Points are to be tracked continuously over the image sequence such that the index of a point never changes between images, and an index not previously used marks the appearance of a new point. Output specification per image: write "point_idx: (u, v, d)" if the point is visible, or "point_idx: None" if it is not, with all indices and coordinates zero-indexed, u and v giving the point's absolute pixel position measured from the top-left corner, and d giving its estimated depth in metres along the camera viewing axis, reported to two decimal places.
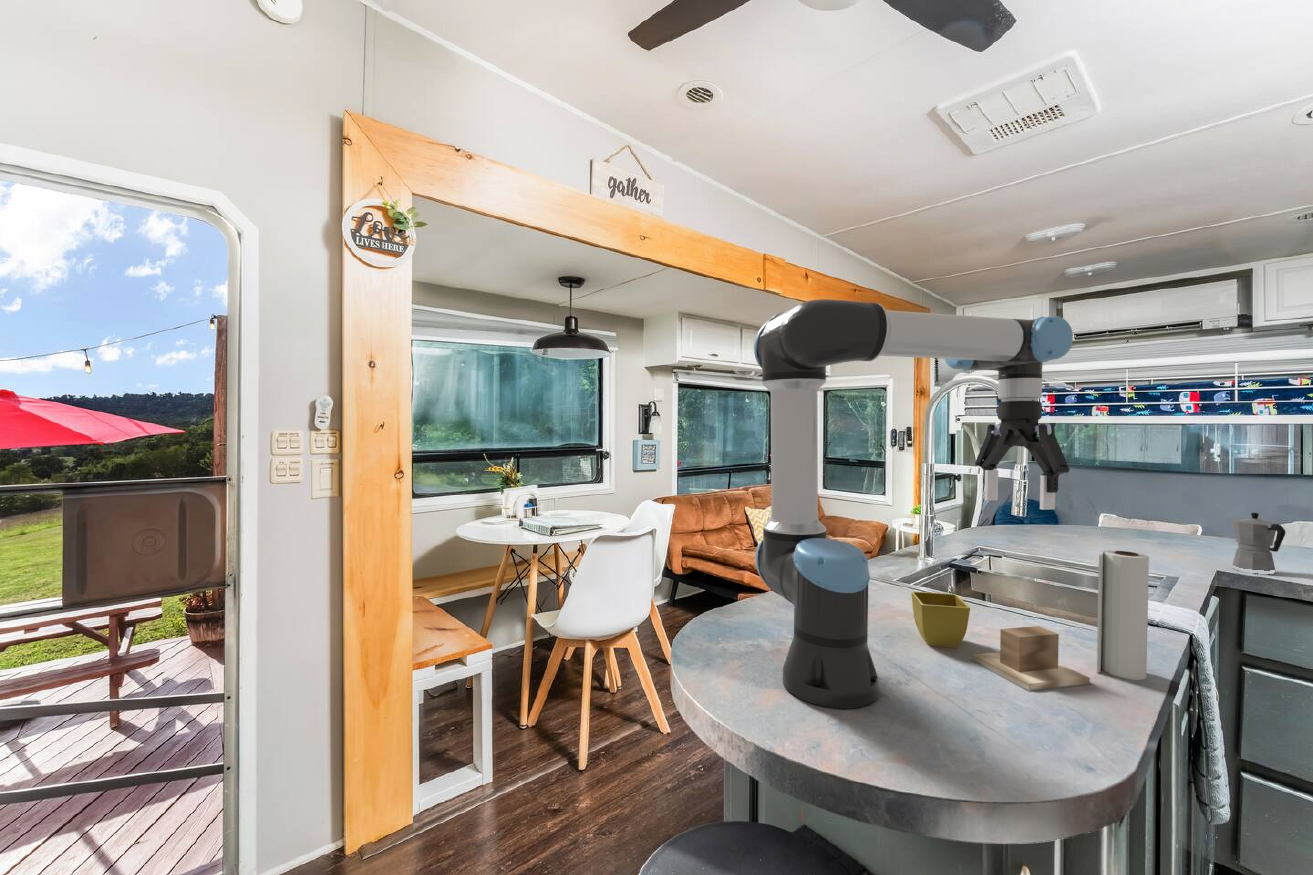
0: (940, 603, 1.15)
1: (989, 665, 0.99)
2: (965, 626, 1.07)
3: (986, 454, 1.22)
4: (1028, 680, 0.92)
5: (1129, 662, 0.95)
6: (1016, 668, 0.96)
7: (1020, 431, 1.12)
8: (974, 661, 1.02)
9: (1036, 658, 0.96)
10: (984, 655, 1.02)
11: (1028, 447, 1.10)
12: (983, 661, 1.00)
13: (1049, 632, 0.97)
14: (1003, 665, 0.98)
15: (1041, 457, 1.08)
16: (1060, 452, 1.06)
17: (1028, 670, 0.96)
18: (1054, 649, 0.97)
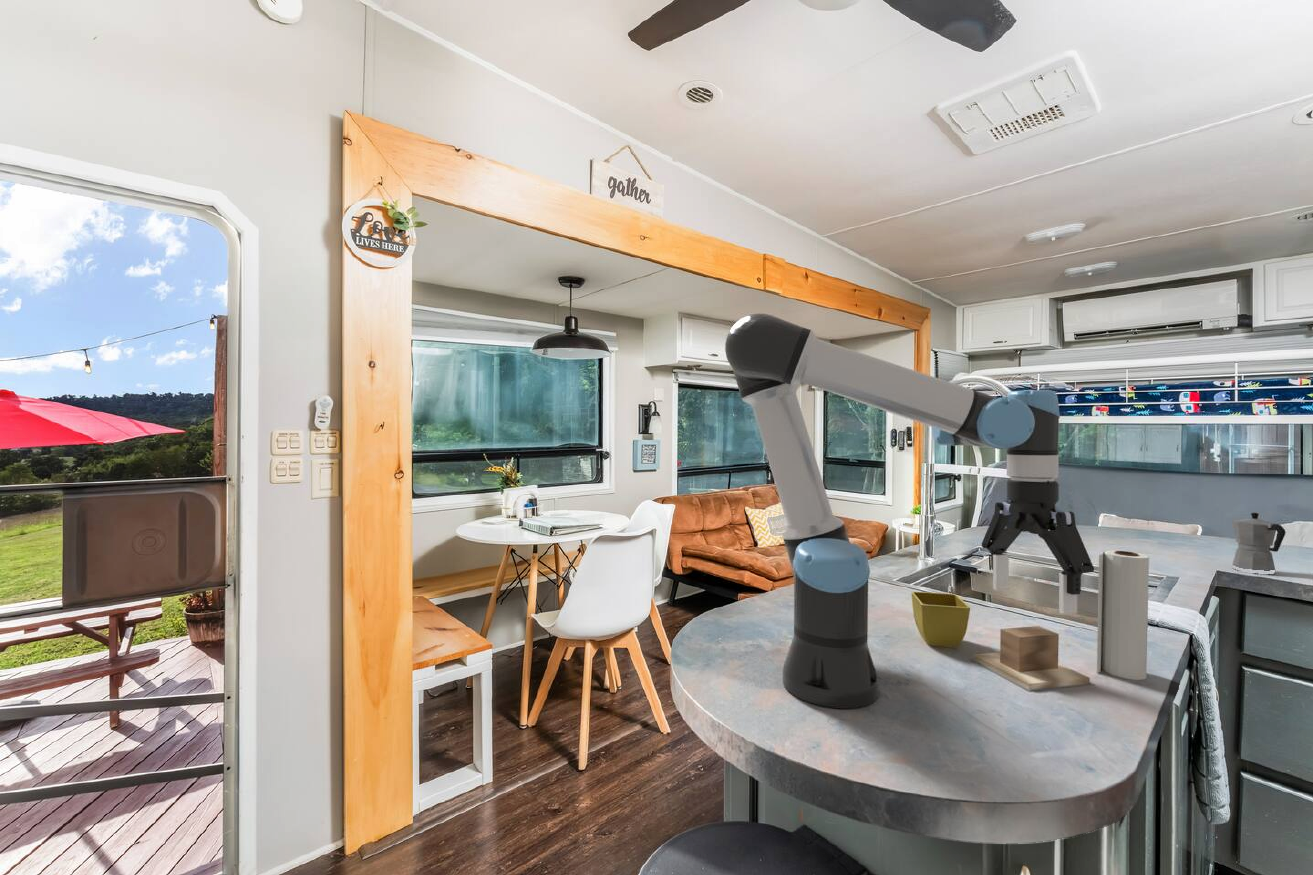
0: (940, 603, 1.15)
1: (989, 665, 0.99)
2: (965, 626, 1.07)
3: (994, 535, 1.05)
4: (1028, 680, 0.92)
5: (1129, 662, 0.95)
6: (1016, 668, 0.96)
7: (1034, 517, 0.95)
8: (974, 661, 1.02)
9: (1036, 658, 0.96)
10: (984, 655, 1.02)
11: (1044, 537, 0.94)
12: (983, 661, 1.00)
13: (1049, 632, 0.97)
14: (1003, 665, 0.98)
15: (1060, 551, 0.91)
16: (1082, 547, 0.89)
17: (1028, 670, 0.96)
18: (1054, 649, 0.97)
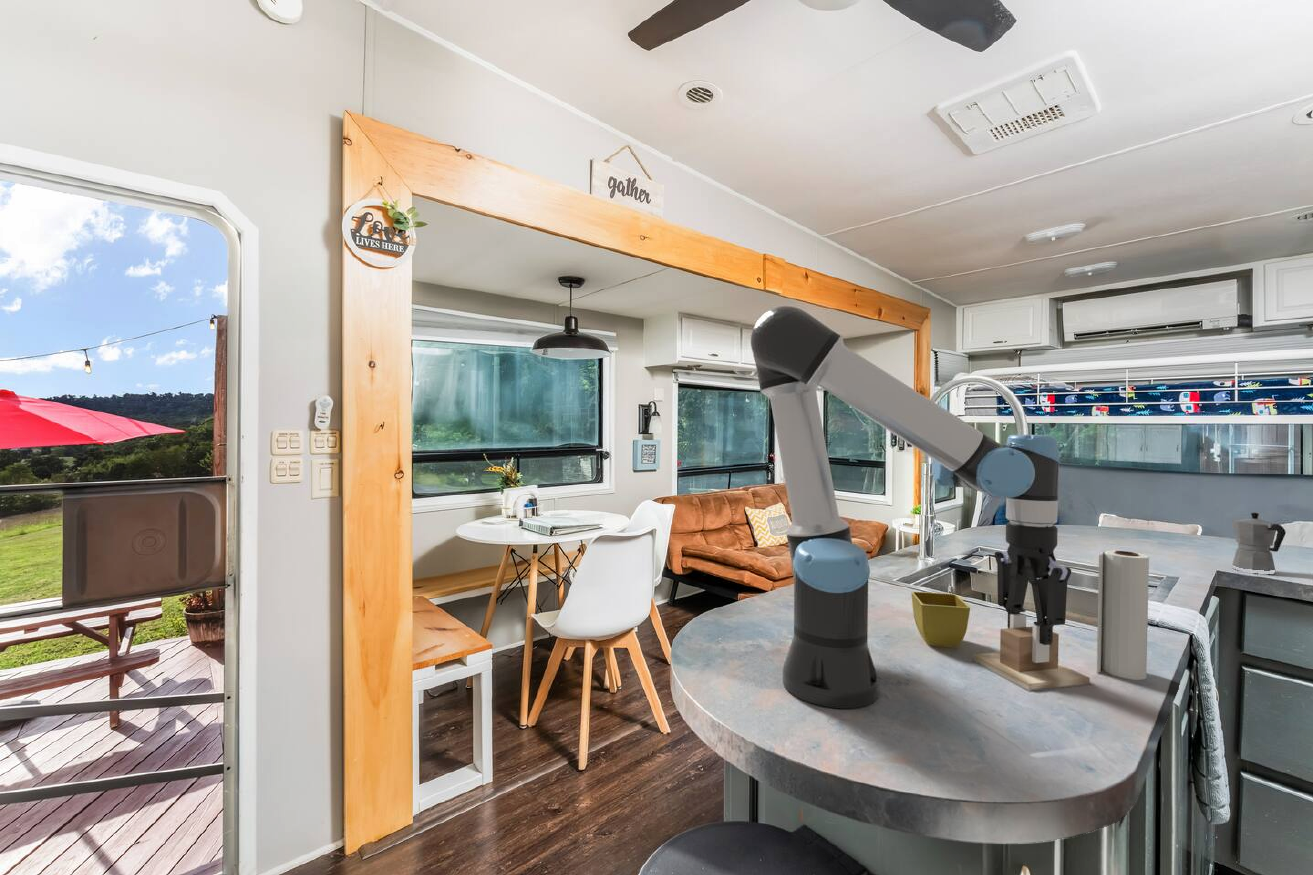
0: (940, 603, 1.15)
1: (989, 665, 0.99)
2: (965, 626, 1.07)
3: (1006, 589, 1.02)
4: (1028, 680, 0.92)
5: (1129, 662, 0.95)
6: (1016, 668, 0.96)
7: (1032, 563, 0.95)
8: (974, 661, 1.02)
9: None
10: (984, 655, 1.02)
11: (1033, 584, 0.96)
12: (983, 661, 1.00)
13: None
14: (1002, 665, 0.98)
15: (1041, 603, 0.94)
16: (1064, 602, 0.92)
17: (1028, 670, 0.96)
18: (1054, 649, 0.97)
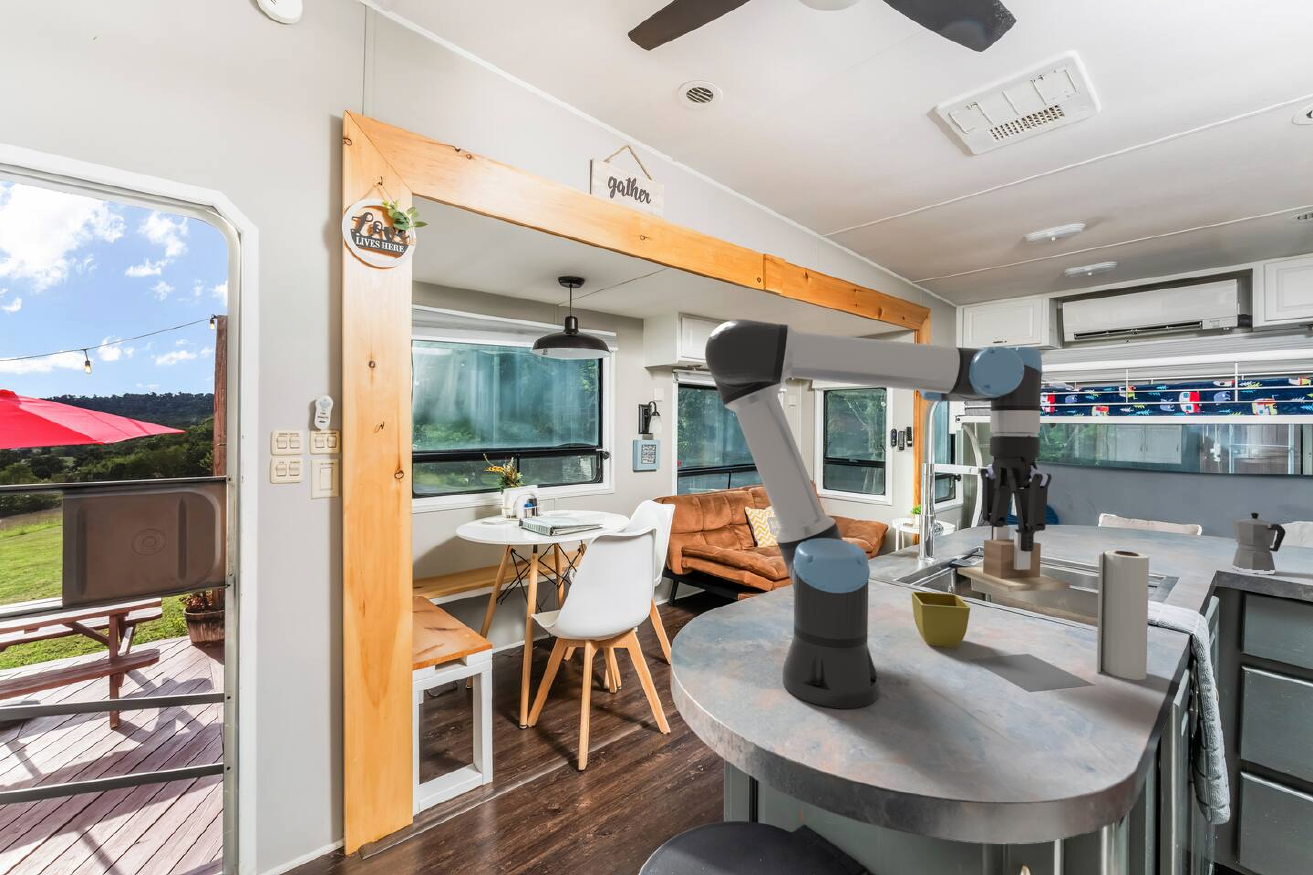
0: (940, 603, 1.15)
1: (972, 575, 1.01)
2: (965, 626, 1.07)
3: (990, 504, 1.04)
4: (1008, 583, 0.94)
5: (1129, 662, 0.95)
6: (998, 575, 0.98)
7: (1014, 473, 0.98)
8: (974, 661, 1.02)
9: None
10: (968, 568, 1.04)
11: (1015, 493, 0.98)
12: (967, 572, 1.03)
13: None
14: (985, 574, 1.00)
15: (1023, 510, 0.97)
16: (1044, 508, 0.94)
17: (1009, 578, 0.98)
18: (1036, 558, 0.99)
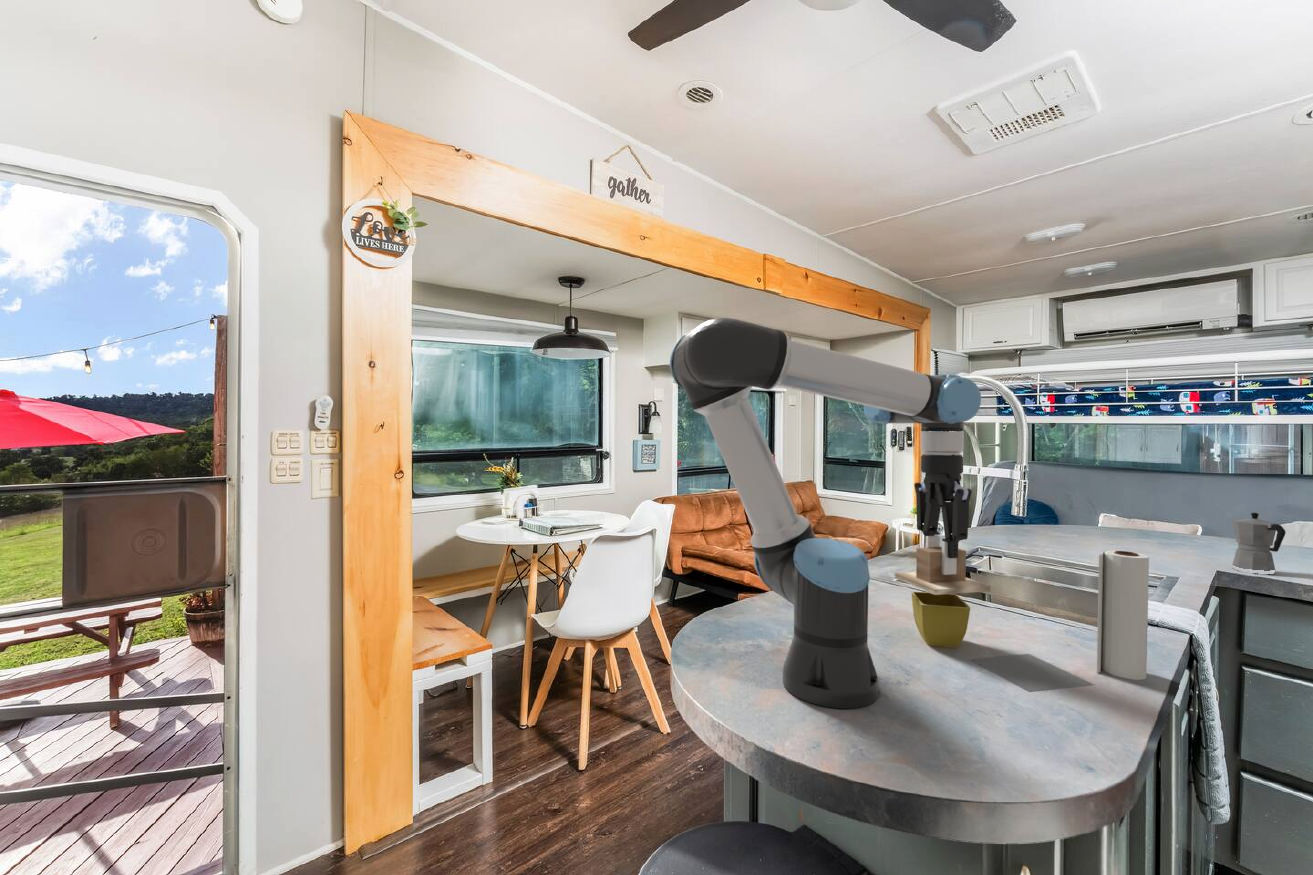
0: (940, 603, 1.15)
1: (906, 579, 1.12)
2: (965, 626, 1.07)
3: (923, 515, 1.15)
4: (935, 587, 1.05)
5: (1129, 662, 0.95)
6: (928, 580, 1.09)
7: (941, 488, 1.09)
8: (974, 661, 1.02)
9: None
10: (904, 573, 1.15)
11: (942, 506, 1.09)
12: (902, 577, 1.14)
13: (958, 549, 1.11)
14: (917, 579, 1.11)
15: (948, 521, 1.08)
16: (966, 520, 1.06)
17: (938, 582, 1.09)
18: (961, 564, 1.10)
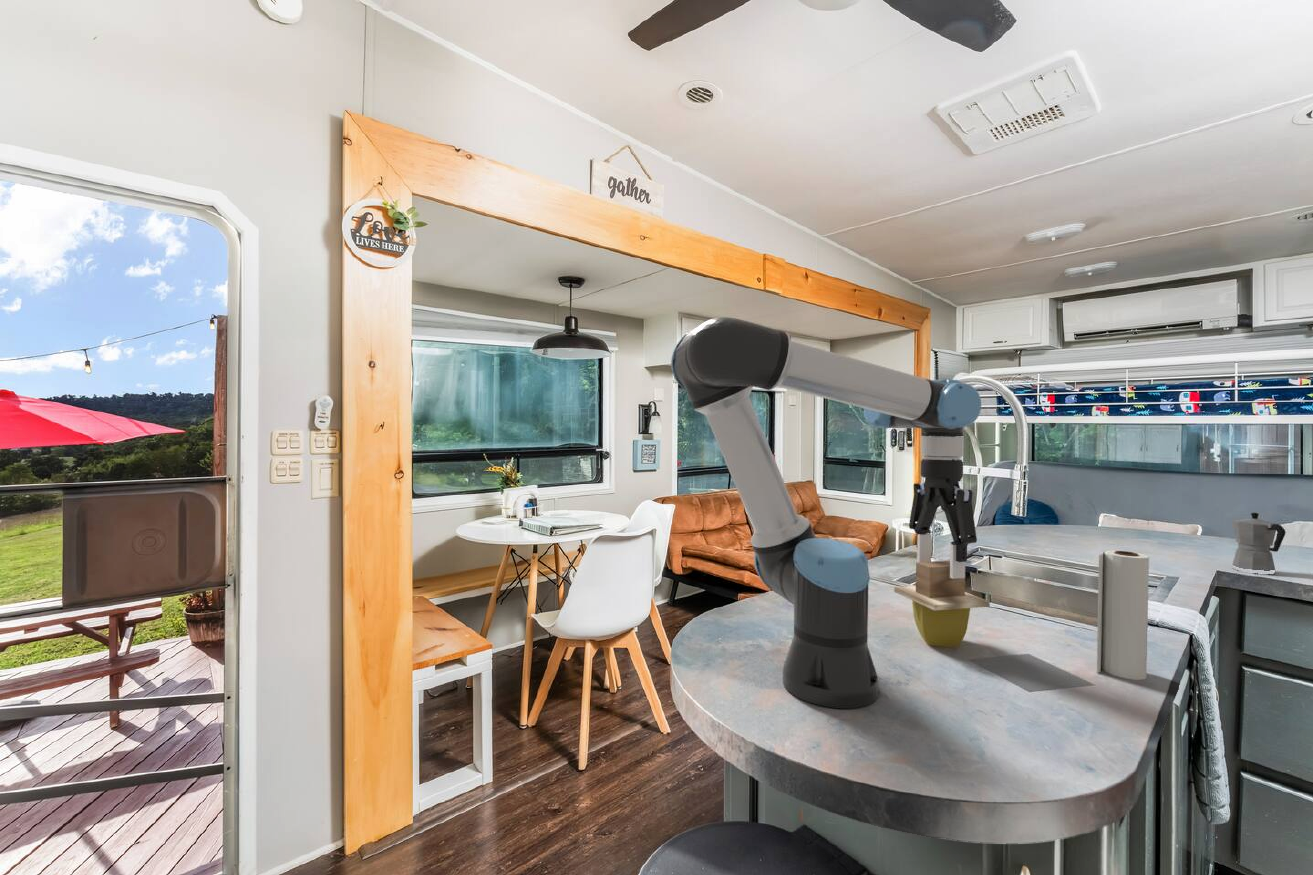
0: None
1: (906, 594, 1.12)
2: (965, 626, 1.07)
3: (917, 515, 1.17)
4: (935, 603, 1.05)
5: (1129, 662, 0.95)
6: (927, 595, 1.09)
7: (941, 492, 1.09)
8: (974, 661, 1.02)
9: (945, 586, 1.09)
10: (903, 587, 1.15)
11: (945, 510, 1.08)
12: (901, 591, 1.13)
13: None
14: (917, 593, 1.11)
15: (954, 524, 1.06)
16: (972, 521, 1.04)
17: (937, 597, 1.09)
18: (961, 579, 1.10)
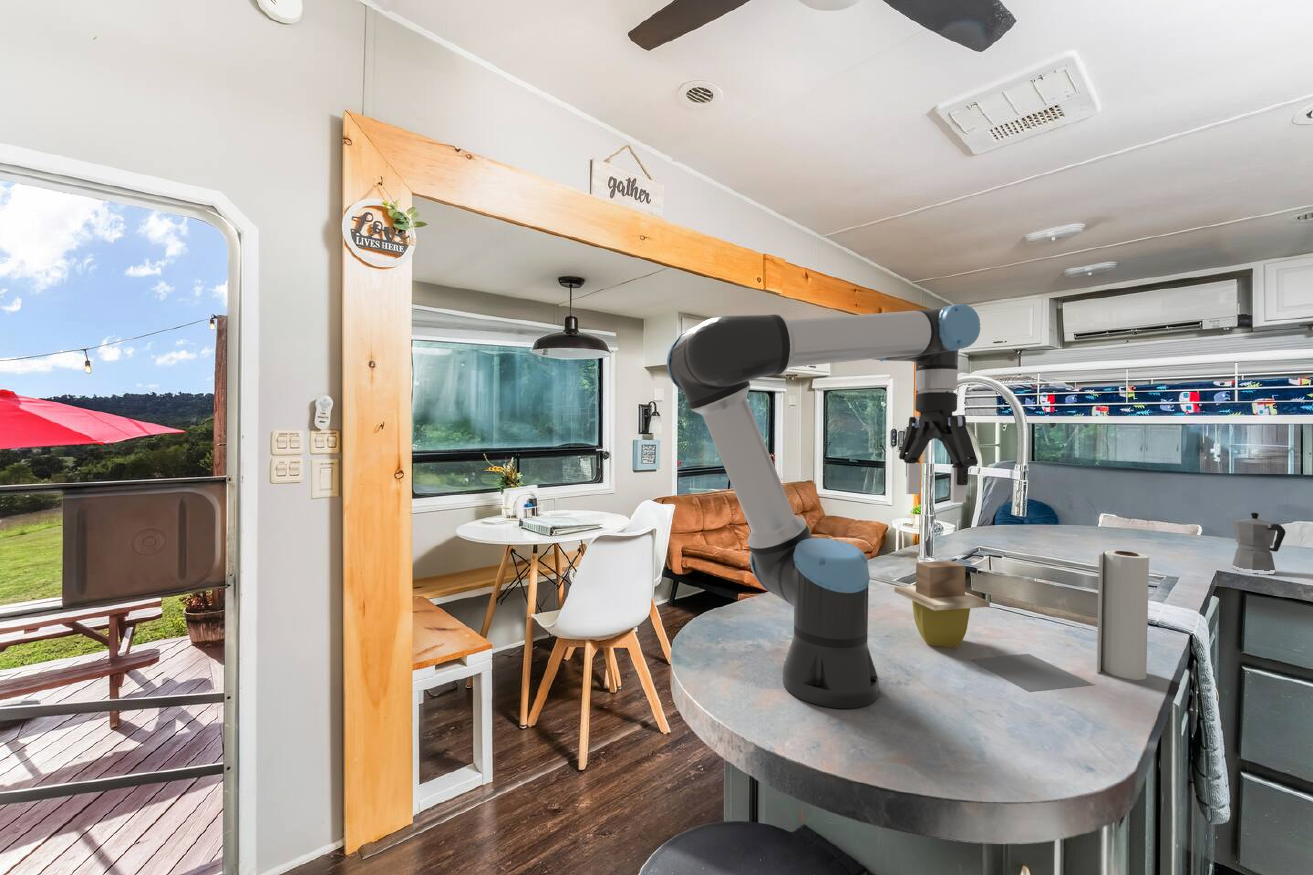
0: None
1: (906, 594, 1.12)
2: (965, 626, 1.07)
3: (908, 447, 1.20)
4: (935, 603, 1.05)
5: (1129, 662, 0.95)
6: (927, 595, 1.09)
7: (935, 423, 1.10)
8: (974, 661, 1.02)
9: (945, 586, 1.09)
10: (903, 587, 1.15)
11: (941, 439, 1.08)
12: (902, 591, 1.13)
13: (958, 564, 1.11)
14: (917, 594, 1.11)
15: (952, 449, 1.06)
16: (970, 444, 1.04)
17: (937, 597, 1.09)
18: (961, 579, 1.10)
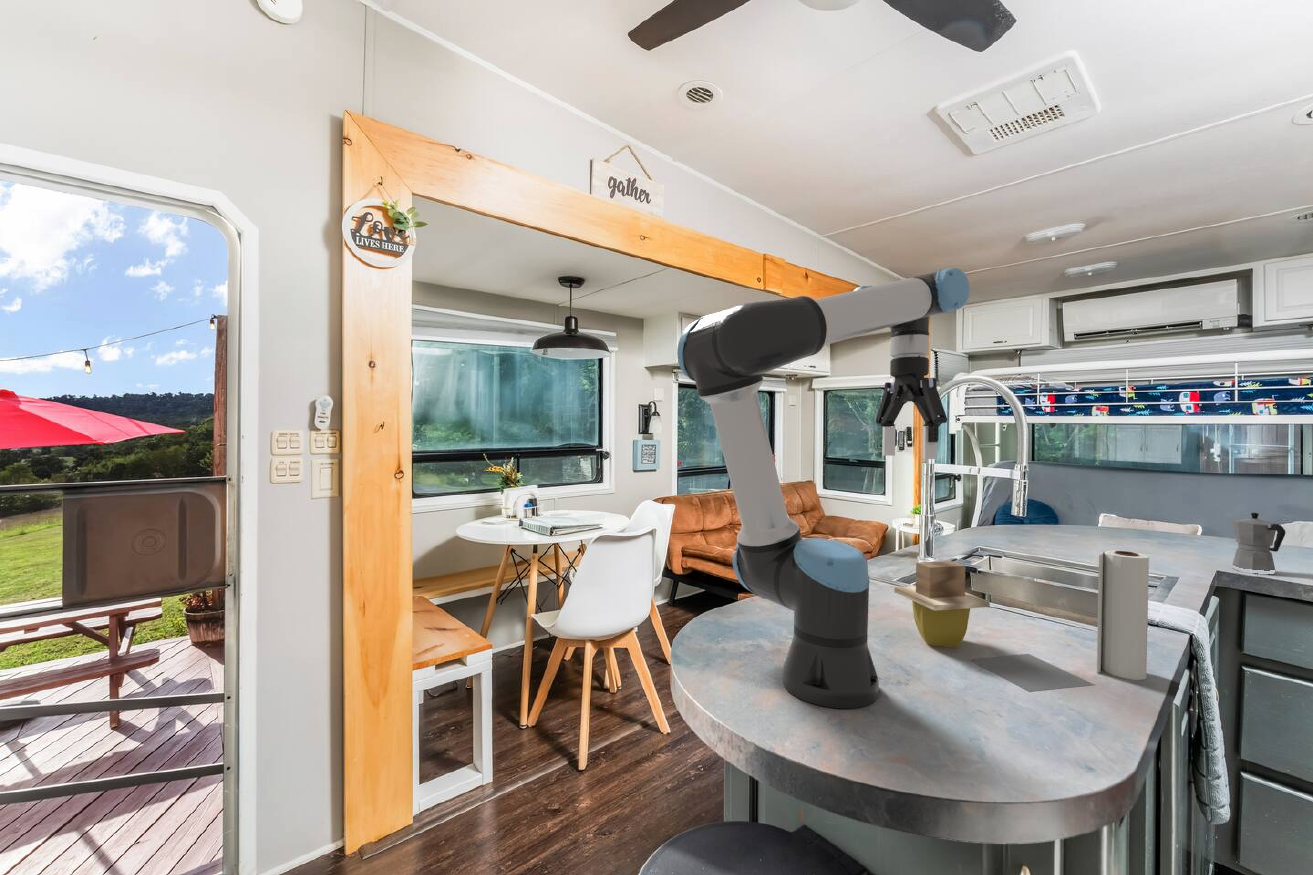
0: None
1: (906, 594, 1.12)
2: (965, 626, 1.07)
3: (884, 411, 1.27)
4: (935, 603, 1.05)
5: (1129, 662, 0.95)
6: (927, 595, 1.09)
7: (908, 386, 1.17)
8: (974, 661, 1.02)
9: (945, 586, 1.09)
10: (903, 588, 1.15)
11: (914, 401, 1.15)
12: (902, 592, 1.13)
13: (957, 564, 1.11)
14: (917, 594, 1.11)
15: (924, 409, 1.13)
16: (940, 403, 1.11)
17: (937, 597, 1.09)
18: (961, 579, 1.10)
